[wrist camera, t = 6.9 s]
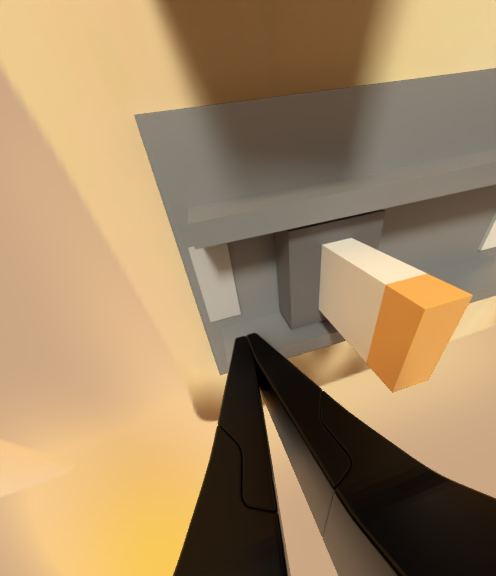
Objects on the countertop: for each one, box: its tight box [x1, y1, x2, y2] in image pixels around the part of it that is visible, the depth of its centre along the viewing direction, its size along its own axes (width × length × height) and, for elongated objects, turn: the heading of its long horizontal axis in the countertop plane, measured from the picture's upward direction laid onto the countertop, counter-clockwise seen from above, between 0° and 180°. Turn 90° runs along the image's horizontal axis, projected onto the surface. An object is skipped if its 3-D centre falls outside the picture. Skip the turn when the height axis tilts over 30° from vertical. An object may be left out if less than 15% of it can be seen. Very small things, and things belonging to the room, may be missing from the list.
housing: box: [134, 68, 496, 375], centre depth 13 cm, size 24×16×4 cm, turn 98°
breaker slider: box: [274, 209, 473, 392], centre depth 10 cm, size 5×6×7 cm
